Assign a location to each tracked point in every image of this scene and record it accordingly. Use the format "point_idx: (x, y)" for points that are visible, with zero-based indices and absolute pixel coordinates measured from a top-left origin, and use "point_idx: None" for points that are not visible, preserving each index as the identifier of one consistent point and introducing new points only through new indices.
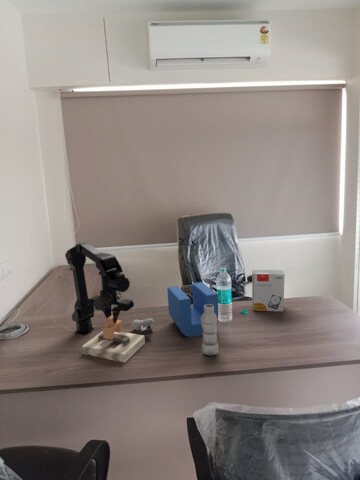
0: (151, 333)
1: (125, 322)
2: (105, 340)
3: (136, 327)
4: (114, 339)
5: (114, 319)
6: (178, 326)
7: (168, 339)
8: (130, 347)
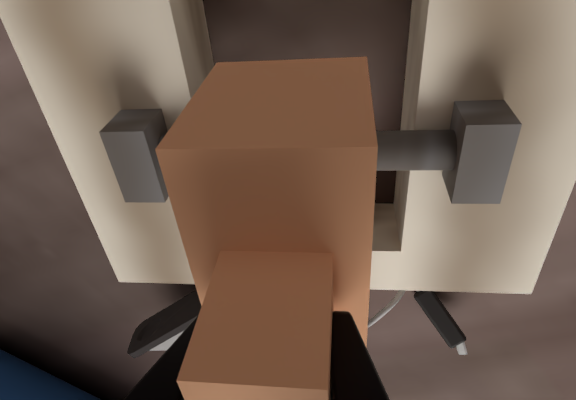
0: (143, 321)
1: (451, 394)
2: (414, 124)
3: None
4: None
5: (159, 375)
6: (13, 396)
7: (57, 302)
8: (42, 83)
